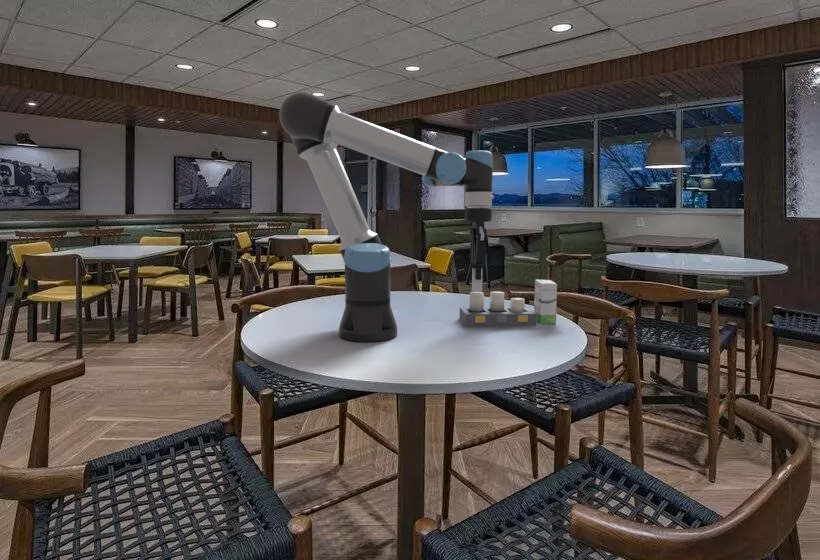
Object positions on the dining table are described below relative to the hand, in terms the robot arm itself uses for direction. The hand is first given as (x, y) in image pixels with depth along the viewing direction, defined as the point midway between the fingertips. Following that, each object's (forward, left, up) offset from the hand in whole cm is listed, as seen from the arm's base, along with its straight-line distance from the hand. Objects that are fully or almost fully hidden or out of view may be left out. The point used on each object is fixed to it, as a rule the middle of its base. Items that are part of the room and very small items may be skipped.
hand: (477, 290), depth 149 cm
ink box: (+20, +1, -10) cm, 23 cm away
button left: (0, 0, -6) cm, 6 cm away
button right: (+12, 0, -8) cm, 14 cm away
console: (+6, 0, -9) cm, 11 cm away
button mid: (+6, 0, -6) cm, 8 cm away
